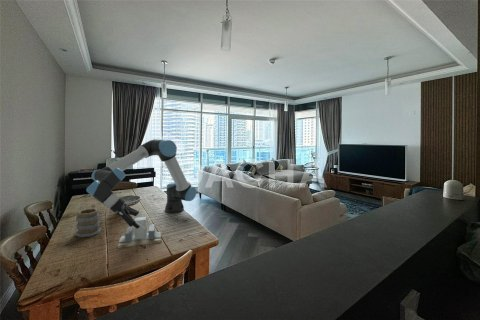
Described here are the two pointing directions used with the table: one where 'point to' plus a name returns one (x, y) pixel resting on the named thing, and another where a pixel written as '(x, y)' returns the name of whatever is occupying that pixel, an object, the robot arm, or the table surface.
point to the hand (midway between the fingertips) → (144, 225)
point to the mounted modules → (130, 233)
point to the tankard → (88, 222)
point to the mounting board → (139, 240)
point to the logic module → (137, 233)
